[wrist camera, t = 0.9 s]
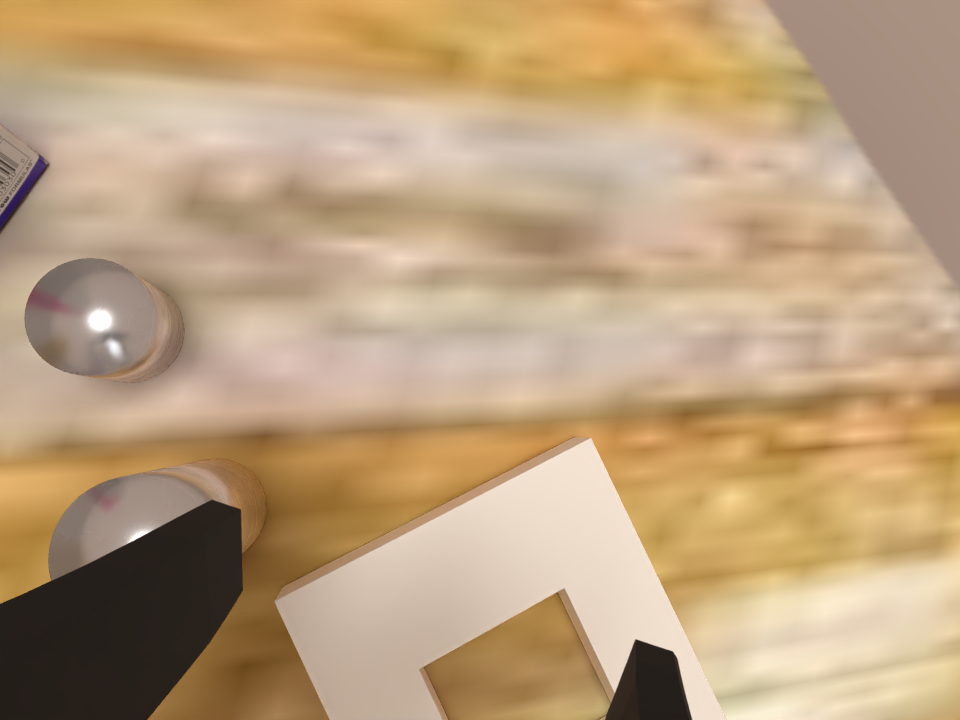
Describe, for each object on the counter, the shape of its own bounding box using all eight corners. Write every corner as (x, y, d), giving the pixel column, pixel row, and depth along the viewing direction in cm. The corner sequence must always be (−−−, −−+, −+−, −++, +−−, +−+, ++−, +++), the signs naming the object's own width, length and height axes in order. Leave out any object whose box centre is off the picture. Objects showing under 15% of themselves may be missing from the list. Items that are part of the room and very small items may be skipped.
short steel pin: (102, 399, 23) (54, 395, 20) (58, 307, 23) (4, 287, 20) (201, 356, 24) (172, 345, 20) (158, 266, 24) (122, 240, 21)
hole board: (452, 949, 23) (460, 997, 21) (282, 586, 23) (274, 601, 22) (733, 767, 25) (763, 795, 23) (574, 437, 26) (590, 438, 24)
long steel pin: (186, 581, 23) (87, 662, 15) (142, 487, 23) (22, 519, 15) (283, 532, 24) (237, 585, 16) (240, 441, 24) (173, 449, 16)
